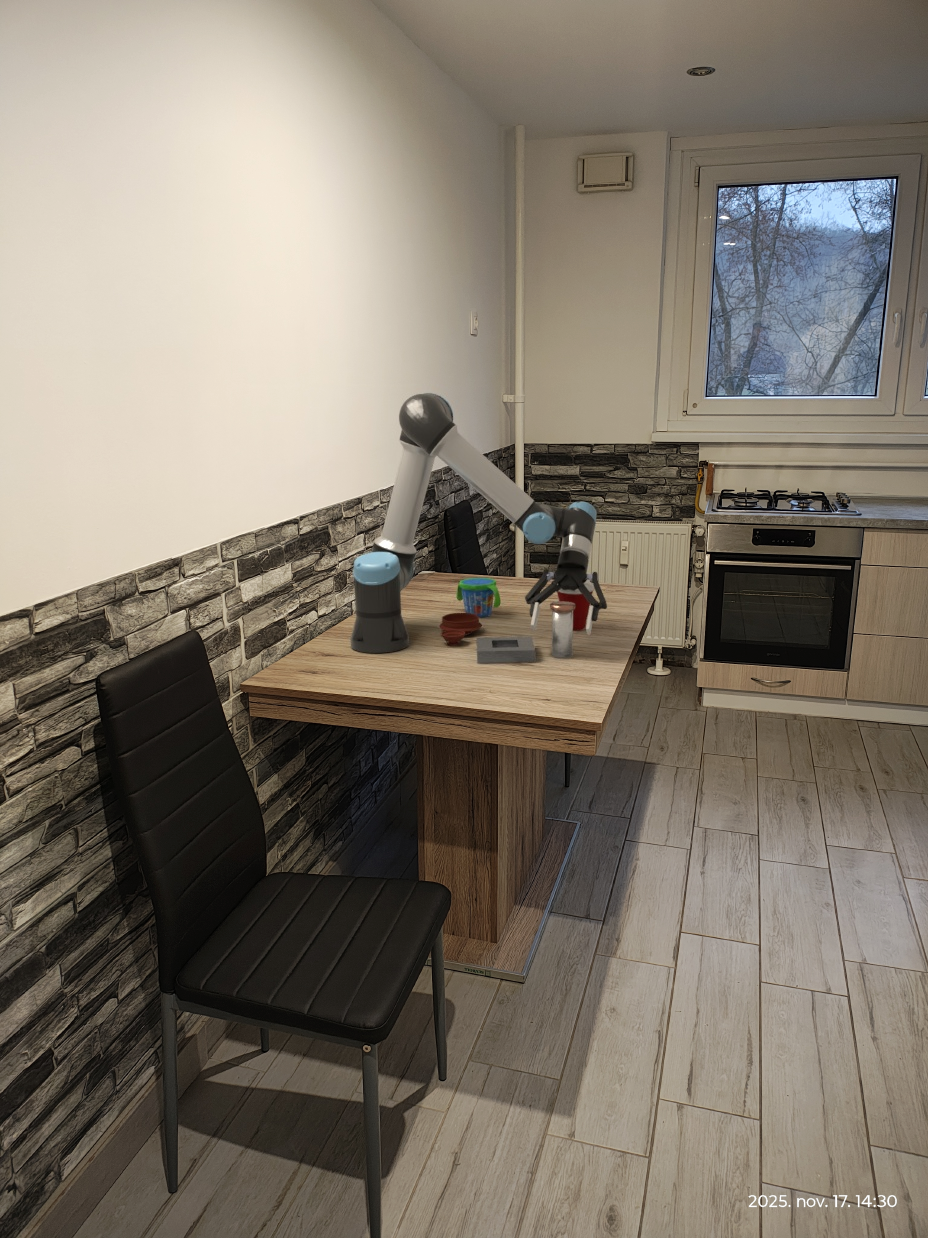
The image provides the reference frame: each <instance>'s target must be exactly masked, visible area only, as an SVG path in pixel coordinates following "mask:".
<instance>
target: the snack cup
mask: <svg viewBox="0 0 928 1238" xmlns="http://www.w3.org/2000/svg"><path fill="white" fill-rule="evenodd" d="M499 592H500V591H499V589H498V587H497V581H496V580H495V579H493V578H489V577H471V578H465V579H463V580H460V581H459V583H458V586H457V588H456V599H457V601H463V607H464V613H472V614H476V615H478V616H479V618H486V617H489V616H490V615H492V612H493V608H495V609H497V608H499V607H500V606H501V604H502V603H501V601H502V600H501V596H500V593H499Z"/></svg>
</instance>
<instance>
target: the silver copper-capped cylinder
mask: <svg viewBox="0 0 928 1238" xmlns="http://www.w3.org/2000/svg"><path fill="white" fill-rule="evenodd" d="M549 606H550V607H549V609H550V610H551V611H552V614H551V615H552V617H551V625H552V626H551V656H552V657H553V658H555V659H570V658H572V657H573V649H574V648H573V645H574V644H573V643H574V642H573V641H574V639H573V637H574V636H573V635H574V633H573V632H574V630H573V610H574V609H575V604H574V603H572V602H565V601H559V600H558V601H553V602H551V603H550V604H549Z"/></svg>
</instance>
